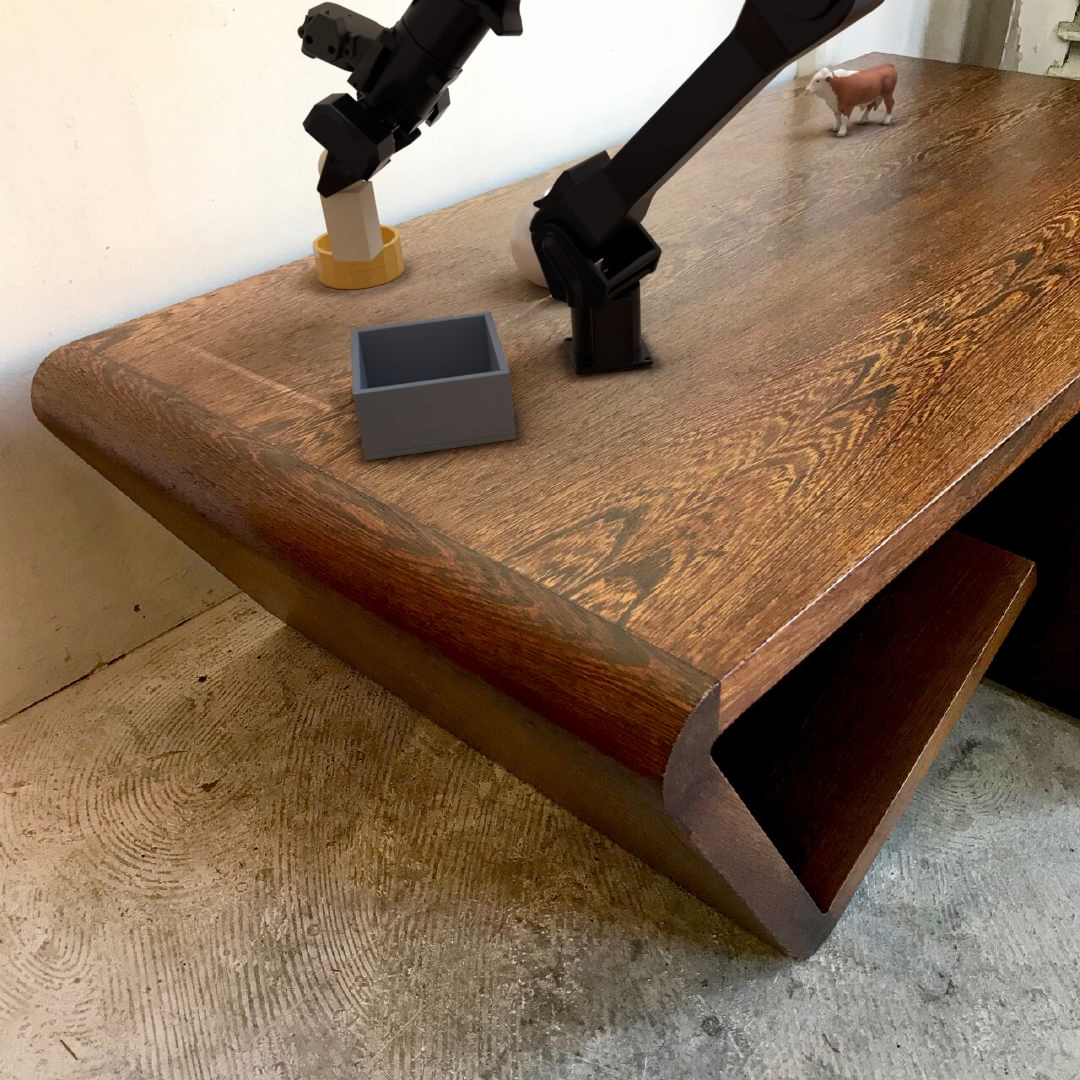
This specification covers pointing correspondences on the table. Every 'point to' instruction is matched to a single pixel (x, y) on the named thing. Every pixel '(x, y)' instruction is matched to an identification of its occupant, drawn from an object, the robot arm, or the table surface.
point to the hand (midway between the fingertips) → (331, 186)
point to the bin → (431, 385)
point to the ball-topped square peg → (352, 221)
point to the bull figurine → (855, 92)
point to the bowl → (360, 263)
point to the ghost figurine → (527, 243)
